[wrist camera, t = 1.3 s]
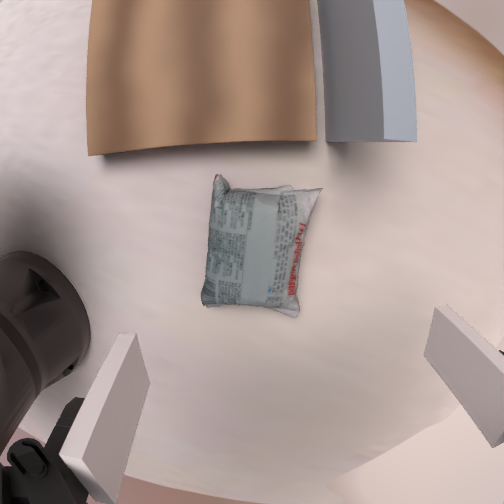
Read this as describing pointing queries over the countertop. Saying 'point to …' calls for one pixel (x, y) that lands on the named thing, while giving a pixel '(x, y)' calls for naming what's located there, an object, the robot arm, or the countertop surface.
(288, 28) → the plinth
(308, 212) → the packaged food
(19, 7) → the countertop surface
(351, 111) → the backboard
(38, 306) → the robot arm
